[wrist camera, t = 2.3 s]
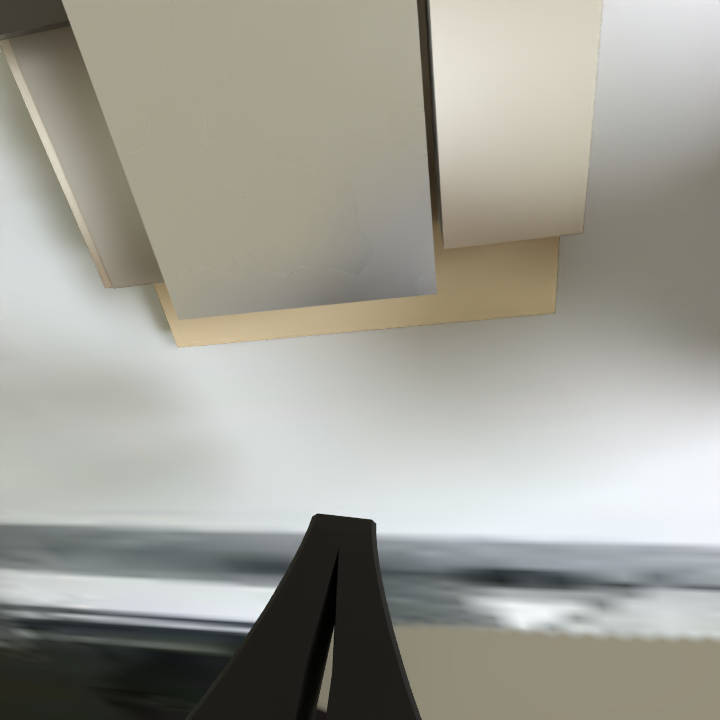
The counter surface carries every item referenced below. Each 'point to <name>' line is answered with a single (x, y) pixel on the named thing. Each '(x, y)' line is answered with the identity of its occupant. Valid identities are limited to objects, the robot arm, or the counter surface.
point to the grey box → (263, 143)
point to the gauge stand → (445, 164)
